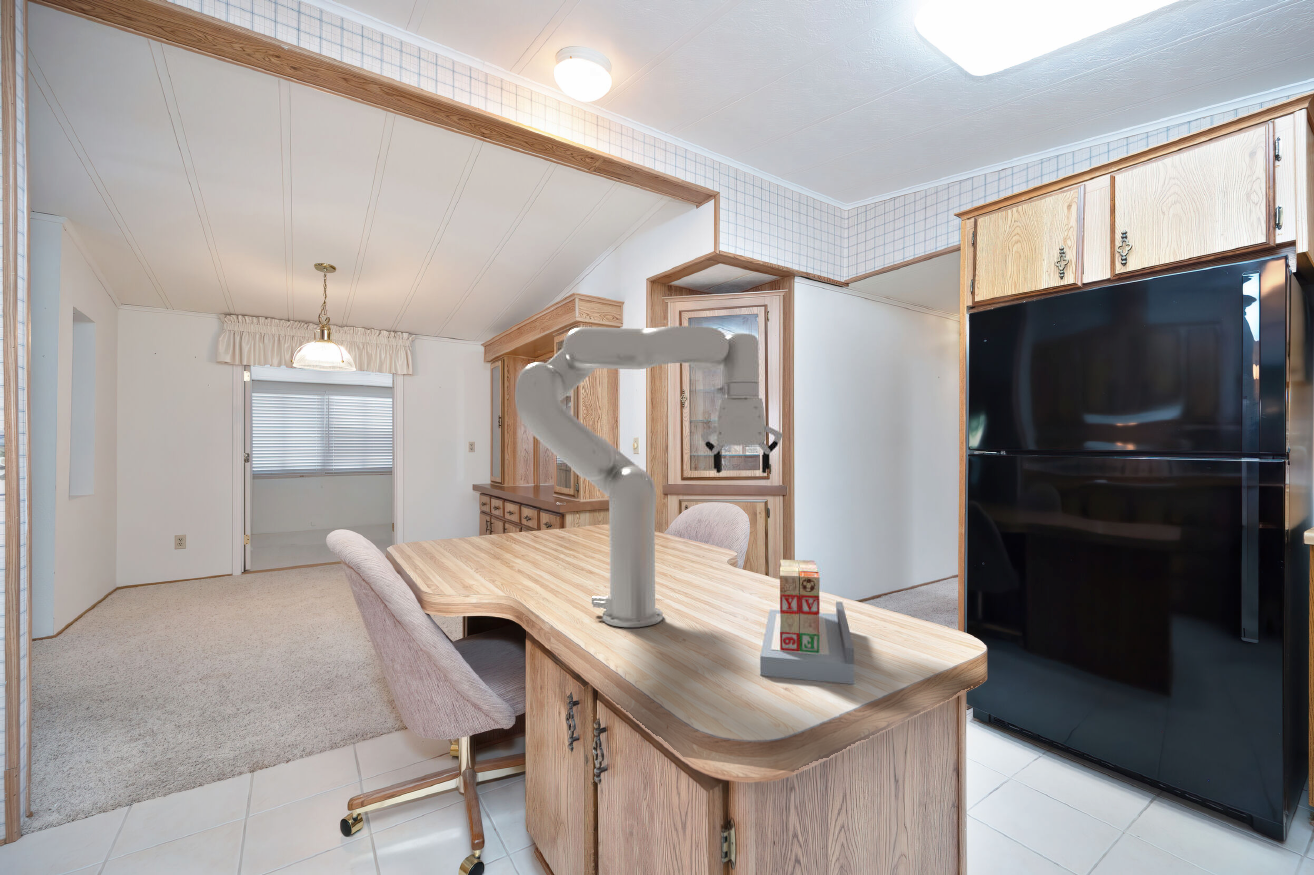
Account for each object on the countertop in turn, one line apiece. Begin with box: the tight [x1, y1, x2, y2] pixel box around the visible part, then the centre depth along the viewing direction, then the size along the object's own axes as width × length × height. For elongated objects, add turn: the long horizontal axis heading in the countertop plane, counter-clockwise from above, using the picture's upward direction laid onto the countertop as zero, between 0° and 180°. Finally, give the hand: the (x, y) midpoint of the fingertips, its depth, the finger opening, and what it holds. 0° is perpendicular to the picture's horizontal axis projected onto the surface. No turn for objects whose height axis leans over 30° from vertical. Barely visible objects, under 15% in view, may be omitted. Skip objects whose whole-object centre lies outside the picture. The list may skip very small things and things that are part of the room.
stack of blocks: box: [779, 559, 821, 653], centre depth 101 cm, size 21×6×12 cm, turn 167°
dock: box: [759, 601, 855, 685], centre depth 100 cm, size 14×26×5 cm, turn 166°
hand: (741, 472), depth 121 cm, fingers open, 9 cm apart
